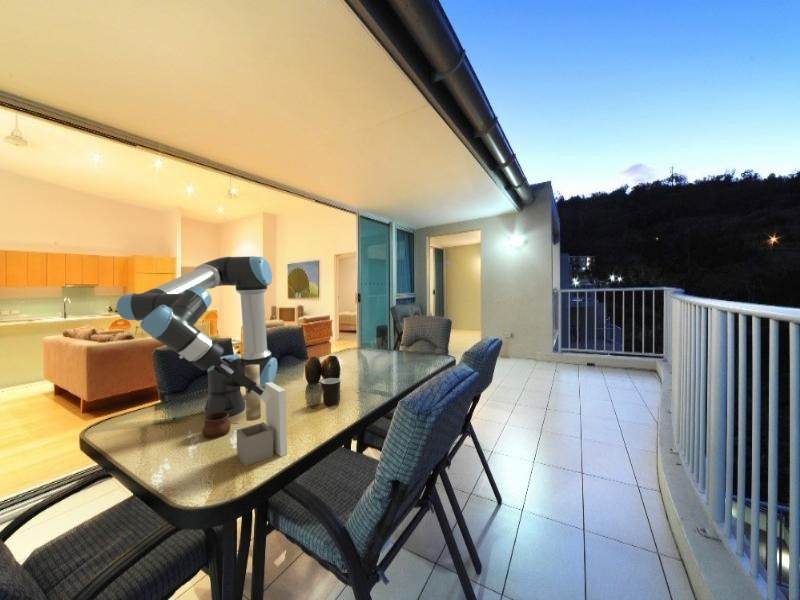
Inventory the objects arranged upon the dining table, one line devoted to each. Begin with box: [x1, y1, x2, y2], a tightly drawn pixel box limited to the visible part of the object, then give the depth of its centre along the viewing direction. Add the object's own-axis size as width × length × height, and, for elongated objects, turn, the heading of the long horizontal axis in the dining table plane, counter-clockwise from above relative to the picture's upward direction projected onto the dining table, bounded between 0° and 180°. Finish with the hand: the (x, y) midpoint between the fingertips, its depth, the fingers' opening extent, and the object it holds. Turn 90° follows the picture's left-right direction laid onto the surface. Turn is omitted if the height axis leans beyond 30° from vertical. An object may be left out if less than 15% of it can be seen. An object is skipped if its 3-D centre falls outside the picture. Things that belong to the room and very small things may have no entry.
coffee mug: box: [320, 377, 342, 407], centre depth 139 cm, size 12×9×10 cm
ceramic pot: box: [201, 411, 240, 440], centre depth 109 cm, size 18×18×7 cm
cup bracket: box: [236, 382, 288, 467], centre depth 95 cm, size 12×12×20 cm
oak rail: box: [244, 364, 262, 422], centre depth 93 cm, size 4×4×16 cm
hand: (266, 396), depth 96 cm, fingers closed on oak rail, 4 cm apart
